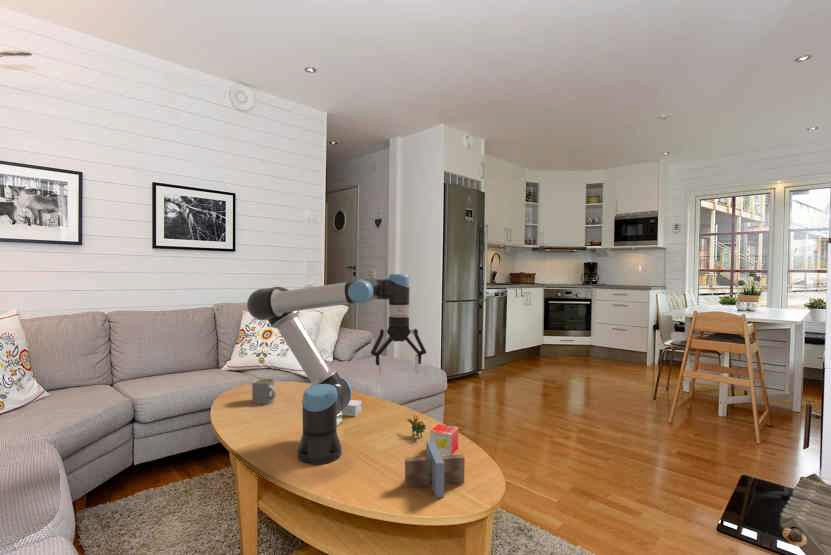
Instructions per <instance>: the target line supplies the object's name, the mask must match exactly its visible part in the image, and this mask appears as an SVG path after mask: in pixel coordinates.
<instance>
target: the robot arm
mask: <svg viewBox="0 0 831 555" xmlns="http://www.w3.org/2000/svg"><path fill="white" fill-rule="evenodd" d="M410 287H411V286H410V277H409V275H408V274H406V273H391V274H389V276H388V278H385V279H383V278H382V279H380V278H360V279H358V280H354V281H347V282H346V281H345V282H340V283H333V284H325V285H318V286H311V287H304V288H297V289H289V288H286V287H282V286H273V287H267V288H260V289H257V290H255V291H253V292H252V293H251V294H249V297H248V298H247V304H246V305H247V311H248V313H249V315H251V316H252V318H254V319H256V320H259V321H268V323H269V324H270V327H271V328H273V329H277V330H278V331H279V333H280V335H281V336H282V338H283V340H284V341H285V343H286V345H287V346H288V348H289V349H290V351H291V352H292V355H293V356H294V357H295V360H296V361H297V362H298V364H299V366H300V367H301V369H302V370H303V372H304V374H305V375H306V377H307V379H308V380H309V381H310V385H309V387H307V388H306V389H305V390H304V391H303V394H302V401H301V405H302V435H301V438H300V441H299V444H298V448H297V452H296V453H297V455H296V456H297V457H296V458H297V460H298V461H299V462H301V463H304V464H308V465H323V464H328V463H331V462H335V461H336V460H338V459H340V457H341V456H342V450H343V448H342V444H341V441H340V438H339V435H338V431H337V430H338V426H337V425H338V422H337V421H338V420H337V419H338V418H337V417H338V415H339V413H340V411H342V410H343V409H344V408H345V407H346V406H347V405H348V403H349V402H350V400H352V397H353V396H352V395H353V390H352V387H351V384H350V382H348V380H346V379H345V378H342V377H341V376H340V375H339V373H338V371H337V370H334V369H331V367H329V365H328V363H327V361H326V360H325V358H324V357H323V355H322V353H321V352H320V350H319V349H318V347H317V346H316V344H315V343H314V341H313V339H312V338H311V336H310V334H309V333H308V331H307V330H306V327H305V326H304V325H303V323H302V321H301V320H300V319H299V315H300V311H305V310H306V311H307V310H314V309H321V308H329V307H334V306H335V307H336V306H344V305H351V304H363V303H367V302H369V301H373V300H387V301H388V315H389V316H388V328H387V329H383V328H380V329H379V334H378V337H377V339H376V341H375V342H374V345H373V347H372V349H371V351H370V354H371V355H372V356H374V357H375V365H376V366H378V374H379V376H381V375H382V355H381V354H383V352H384V351H385V349H387V347H388V346H389V345H390V344H391V343H392V342H395V343H397V342H404V341H406V342H407V343H408V345H409V346H410V347H411V348H412V349H413V350H414V352H415V353H416V354H415V356H414V359H415V360H414V369H415V370H414V372H415V374H419V365H421V364H422V356H423V355H425V354H427V351H426V349H425V347H424V344H423V343H422V340H421V338H420V337H419V332H418V331H419V330H418V329H417V328H412V329H410V317H409V315H410ZM386 334H388V338H387V339H386V340H385V342H384V343H383V344H382V345H381V346H380V344H381V342H382V340H383V337H384V336H386ZM409 335H413V336H414V338H415V340H416V343H417V345H418V347H419V348H420V350H419V349H418V348H417V347H416V346H415V344H414V342H412V341H411V339H410V338H409ZM379 346H380V347H379ZM378 347H379V348H378ZM377 349H378V350H377Z"/></svg>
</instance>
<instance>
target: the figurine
mask: <svg viewBox="0 0 831 555" xmlns="http://www.w3.org/2000/svg"><path fill="white" fill-rule="evenodd" d="M406 420H407V421H408V422H409V423H410V424H411V431H412V432H411V433H412V436H413V437H416V436H417V439H418V440H419V439H421V438H422V439H423V435H422V433H426V430H427V428H426V425H425V423H424V422H423V420H421V421H420V420H419V418H418V415H417V414H414V415H413V420H412V418H406ZM419 435H420V436H419Z"/></svg>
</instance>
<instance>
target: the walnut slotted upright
mask: <svg viewBox="0 0 831 555" xmlns="http://www.w3.org/2000/svg"><path fill="white" fill-rule="evenodd" d="M441 457H442V459H443V461H444V486H450V485H451V484H452V485H463V484H462V483H464V484H465V459H466V458H465V456H464V454H453V455H446V456H442V455H441ZM404 485H405V486H404V487H405V488H406V489H408V488H420V487H422V488H423V487H432V476H431V474H430V472H429V458H428V457H426V456H414V457H413V456H412V457H405V458H404Z"/></svg>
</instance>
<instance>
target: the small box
mask: <svg viewBox="0 0 831 555" xmlns="http://www.w3.org/2000/svg"><path fill="white" fill-rule="evenodd" d="M362 410H363V409H362V400H356V399H351V400H350V402H349V403H348V405H347V406H346V407H345V408H344V409H343V410H342V413H343V415H345V416H344V417H350V416H356V415H357V414H358V413H359V412H360V413H362ZM360 413H359V414H360ZM359 414H358V415H359ZM346 415H347V416H346ZM358 415H357V416H358ZM357 416H356V417H357Z"/></svg>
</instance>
